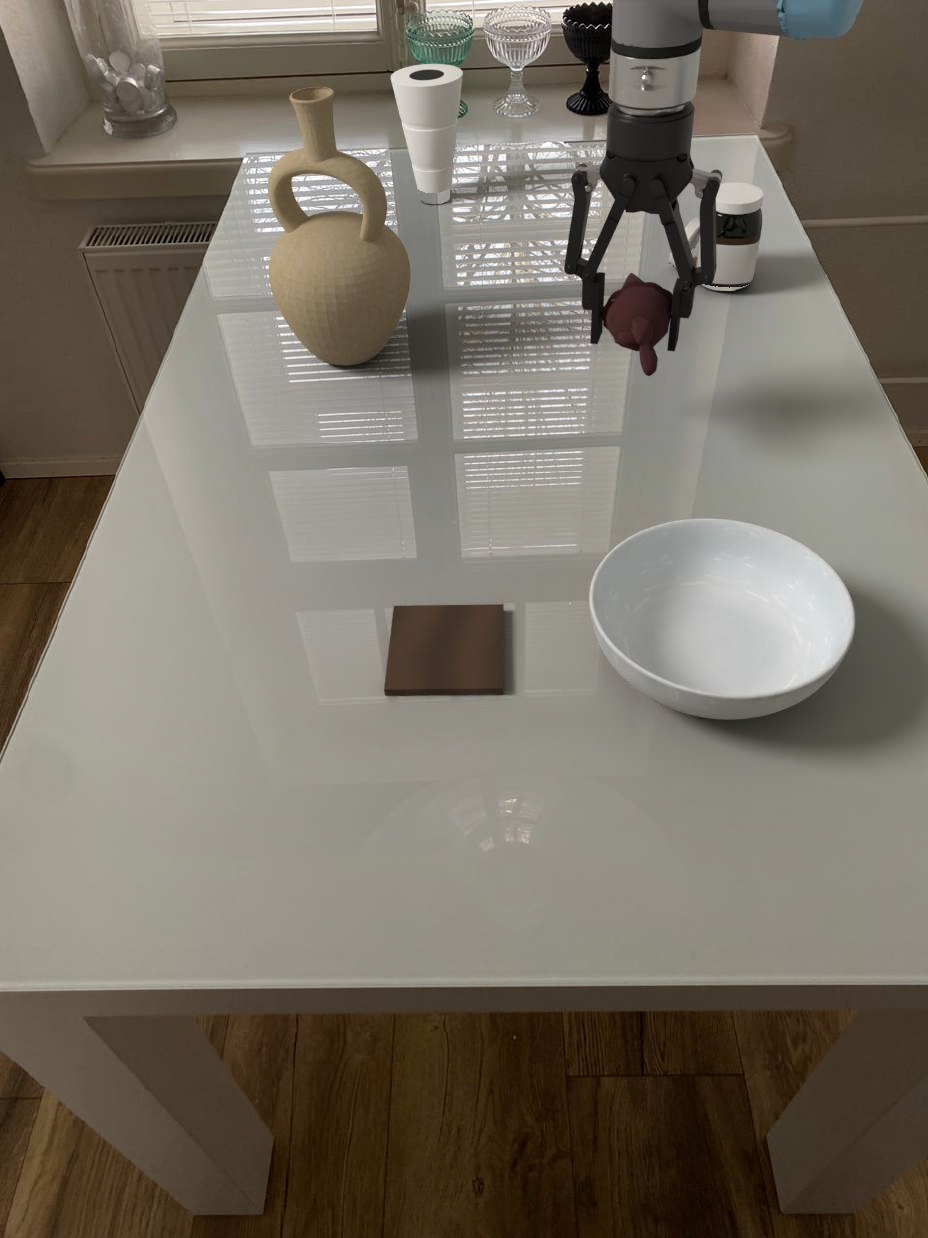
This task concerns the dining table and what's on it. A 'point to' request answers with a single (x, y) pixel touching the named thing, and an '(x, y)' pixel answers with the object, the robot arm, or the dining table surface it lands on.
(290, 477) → the dining table surface
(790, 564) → the serving bowl
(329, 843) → the dining table surface
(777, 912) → the dining table surface
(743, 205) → the spread jar
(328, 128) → the vase
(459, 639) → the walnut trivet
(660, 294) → the beetroot
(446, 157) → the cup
